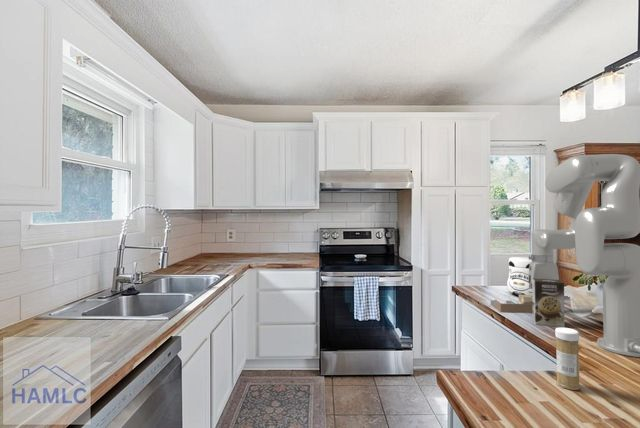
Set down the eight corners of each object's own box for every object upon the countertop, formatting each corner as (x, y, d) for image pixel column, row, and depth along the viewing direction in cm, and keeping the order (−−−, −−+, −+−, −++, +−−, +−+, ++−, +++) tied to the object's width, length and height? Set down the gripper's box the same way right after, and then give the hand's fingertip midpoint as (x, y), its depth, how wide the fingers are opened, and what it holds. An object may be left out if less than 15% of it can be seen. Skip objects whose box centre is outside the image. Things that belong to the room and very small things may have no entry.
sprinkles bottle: (582, 386, 79) (581, 330, 79) (575, 393, 76) (574, 334, 76) (560, 379, 83) (559, 325, 83) (553, 384, 80) (552, 329, 80)
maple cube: (533, 306, 137) (533, 297, 137) (523, 306, 137) (523, 297, 137) (529, 304, 141) (528, 294, 141) (518, 304, 141) (518, 294, 141)
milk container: (510, 298, 158) (510, 260, 157) (504, 290, 174) (503, 256, 174) (553, 301, 152) (553, 262, 151) (543, 292, 168) (542, 257, 168)
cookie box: (535, 324, 122) (534, 280, 121) (532, 319, 127) (531, 277, 127) (565, 327, 118) (564, 282, 118) (560, 322, 124) (560, 279, 124)
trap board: (539, 312, 135) (539, 304, 135) (500, 312, 137) (500, 303, 137) (526, 305, 146) (526, 297, 146) (490, 304, 148) (490, 297, 148)
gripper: (527, 260, 135) (528, 305, 135) (567, 260, 133) (568, 306, 133) (519, 257, 143) (520, 300, 143) (556, 257, 141) (557, 301, 141)
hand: (543, 303), depth 138 cm, fingers closed
